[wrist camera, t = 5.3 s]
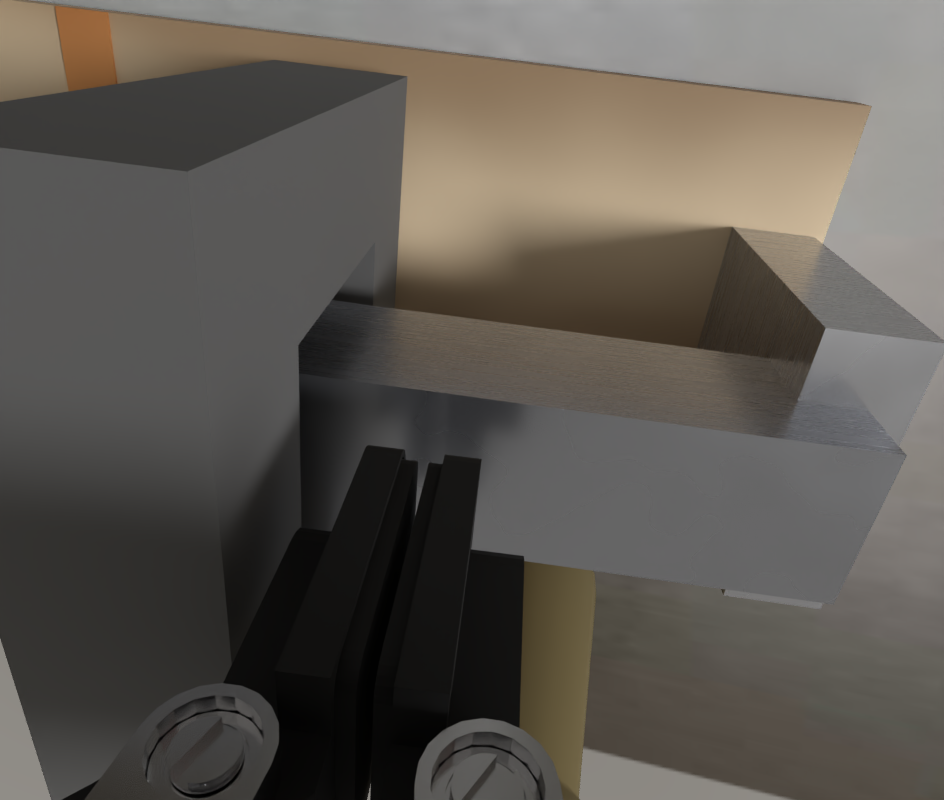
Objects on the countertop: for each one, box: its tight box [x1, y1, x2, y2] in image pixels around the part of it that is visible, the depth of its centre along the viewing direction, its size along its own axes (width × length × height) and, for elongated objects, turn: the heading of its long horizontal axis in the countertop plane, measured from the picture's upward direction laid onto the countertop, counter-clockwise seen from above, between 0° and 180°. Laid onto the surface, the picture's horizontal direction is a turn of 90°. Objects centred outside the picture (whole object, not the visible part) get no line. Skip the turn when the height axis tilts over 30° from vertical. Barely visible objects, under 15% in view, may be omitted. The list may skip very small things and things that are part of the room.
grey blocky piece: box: [298, 227, 944, 609], centre depth 15 cm, size 6×26×8 cm, turn 84°
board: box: [0, 0, 872, 348], centre depth 19 cm, size 12×26×1 cm, turn 84°
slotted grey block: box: [0, 60, 408, 800], centre depth 13 cm, size 11×3×11 cm, turn 174°
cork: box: [519, 561, 596, 800], centre depth 20 cm, size 6×6×11 cm
